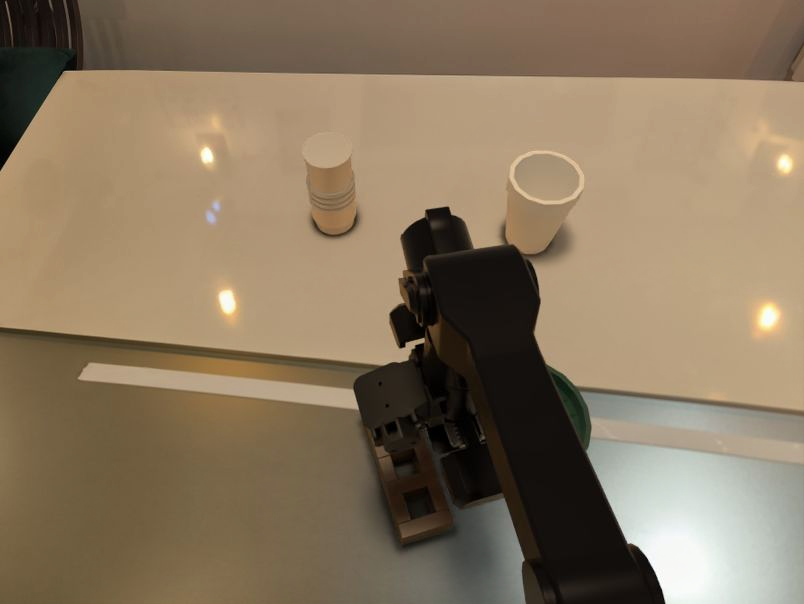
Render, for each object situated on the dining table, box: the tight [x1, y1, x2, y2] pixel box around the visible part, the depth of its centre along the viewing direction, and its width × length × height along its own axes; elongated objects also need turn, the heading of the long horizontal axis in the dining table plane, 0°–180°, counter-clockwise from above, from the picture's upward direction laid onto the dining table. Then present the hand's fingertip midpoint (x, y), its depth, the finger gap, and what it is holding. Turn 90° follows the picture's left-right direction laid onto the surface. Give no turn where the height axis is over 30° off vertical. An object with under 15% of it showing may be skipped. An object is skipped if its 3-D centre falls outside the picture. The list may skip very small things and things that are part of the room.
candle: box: [301, 131, 357, 236], centre depth 87 cm, size 7×7×15 cm
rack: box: [364, 425, 455, 546], centre depth 69 cm, size 14×6×4 cm, turn 15°
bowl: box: [547, 364, 593, 452], centre depth 71 cm, size 14×14×5 cm
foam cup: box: [504, 150, 585, 255], centre depth 83 cm, size 10×9×13 cm
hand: (444, 425), depth 61 cm, fingers closed
